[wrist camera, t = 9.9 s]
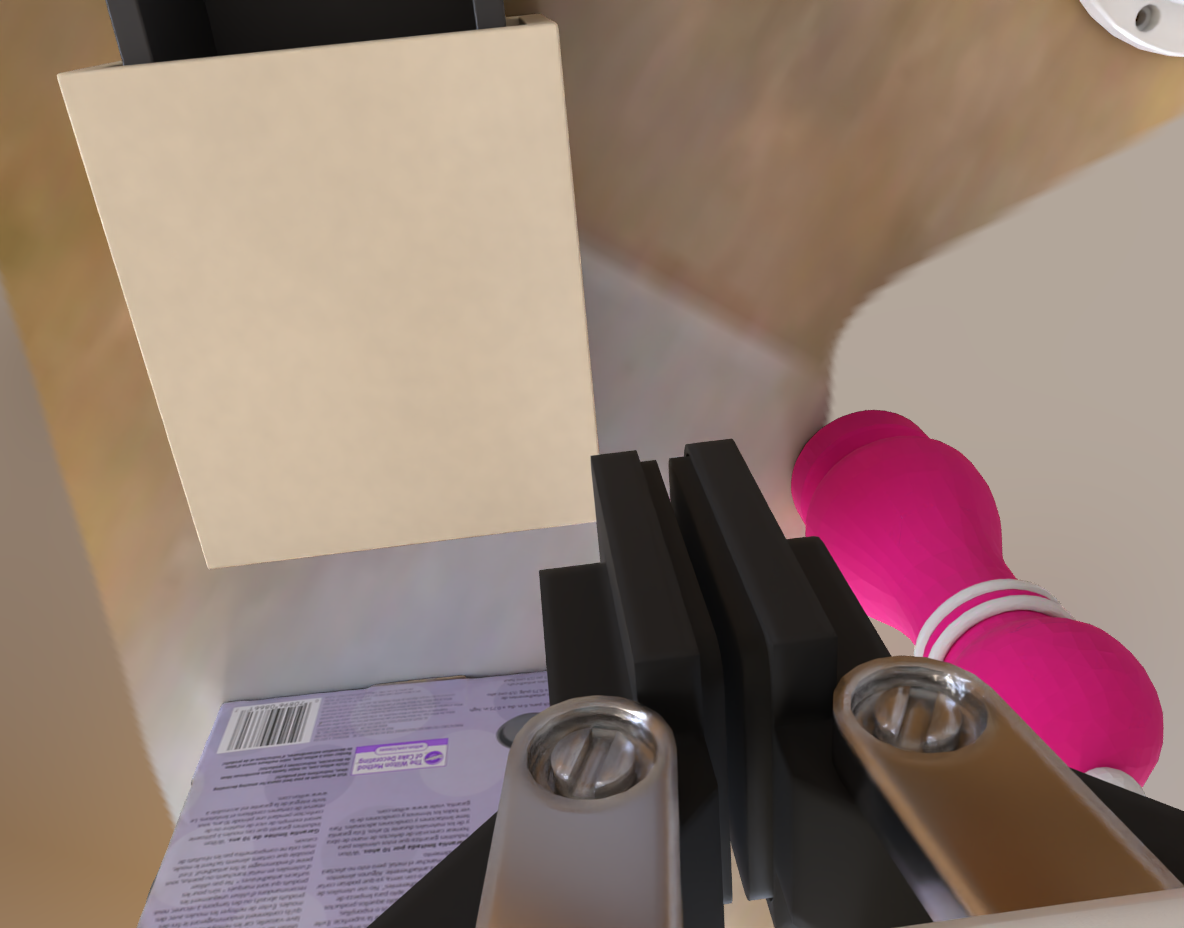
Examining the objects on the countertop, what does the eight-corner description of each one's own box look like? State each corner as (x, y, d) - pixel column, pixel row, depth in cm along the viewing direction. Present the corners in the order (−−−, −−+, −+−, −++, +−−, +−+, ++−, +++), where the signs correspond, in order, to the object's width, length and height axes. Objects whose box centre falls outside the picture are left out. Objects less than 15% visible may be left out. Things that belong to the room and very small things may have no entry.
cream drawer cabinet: (167, 51, 33) (54, 73, 25) (541, 13, 34) (558, 22, 25) (269, 444, 40) (207, 570, 31) (581, 406, 40) (605, 521, 32)
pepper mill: (919, 370, 41) (1255, 671, 23) (960, 509, 44) (1283, 870, 26) (756, 438, 42) (958, 783, 24) (807, 571, 45) (1020, 964, 27)
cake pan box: (217, 783, 47) (77, 1191, 31) (192, 699, 45) (26, 1092, 29) (620, 738, 48) (683, 1112, 32) (615, 654, 46) (679, 1010, 30)
